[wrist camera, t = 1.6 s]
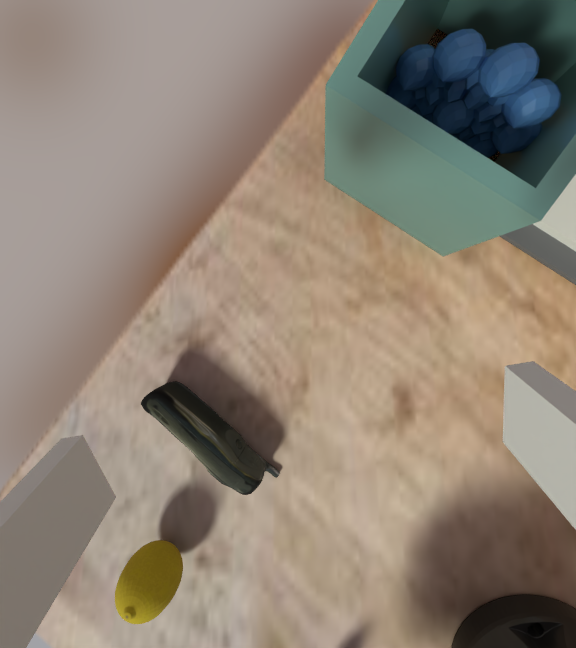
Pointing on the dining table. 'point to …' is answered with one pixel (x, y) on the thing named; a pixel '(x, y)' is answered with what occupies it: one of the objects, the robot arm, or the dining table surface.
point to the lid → (562, 217)
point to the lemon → (148, 582)
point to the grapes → (477, 91)
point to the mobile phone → (207, 437)
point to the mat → (545, 250)
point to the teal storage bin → (434, 143)
